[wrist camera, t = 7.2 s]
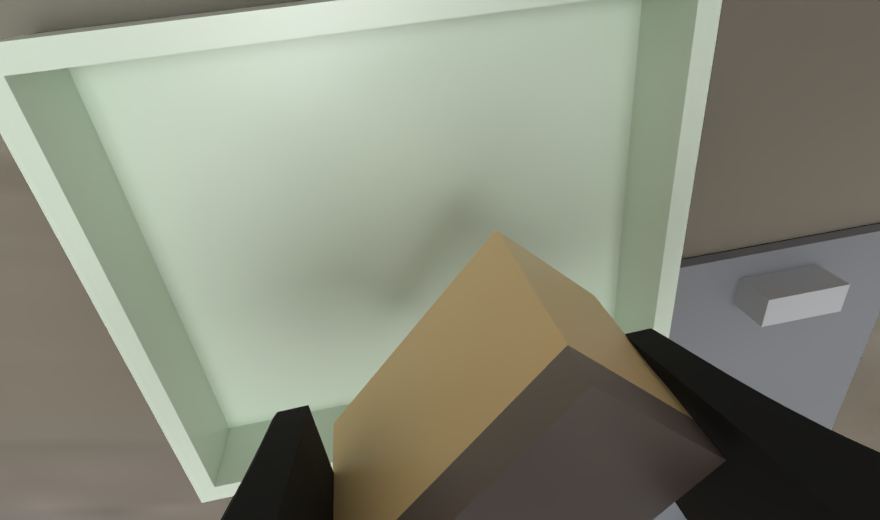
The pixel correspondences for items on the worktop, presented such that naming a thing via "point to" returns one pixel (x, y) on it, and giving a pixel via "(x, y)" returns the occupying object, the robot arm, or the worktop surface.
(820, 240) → the fuse board
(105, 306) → the parts tray
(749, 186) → the worktop surface
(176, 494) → the worktop surface
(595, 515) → the block
